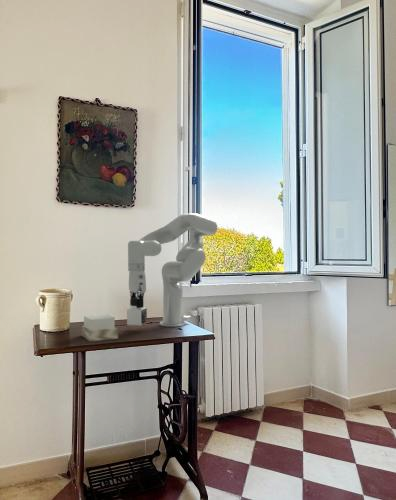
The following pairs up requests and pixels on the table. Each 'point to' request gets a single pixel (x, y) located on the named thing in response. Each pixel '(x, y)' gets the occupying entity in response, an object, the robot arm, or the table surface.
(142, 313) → the medicine bottle
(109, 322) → the tower top block
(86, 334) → the tower base block
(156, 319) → the table surface
